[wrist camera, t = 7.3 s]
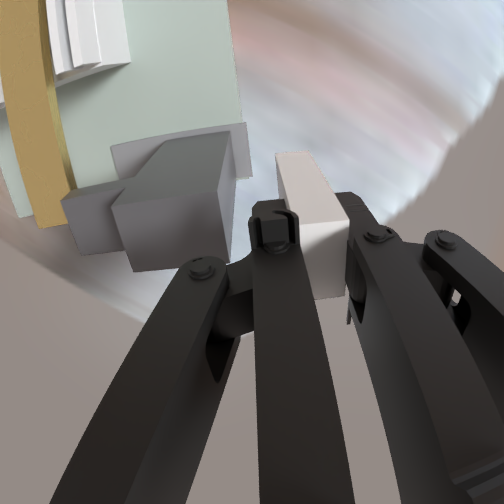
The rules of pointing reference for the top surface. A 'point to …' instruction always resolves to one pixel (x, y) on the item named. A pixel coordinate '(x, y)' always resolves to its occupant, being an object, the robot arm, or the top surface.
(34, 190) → the strap
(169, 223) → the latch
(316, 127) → the top surface
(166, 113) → the board
